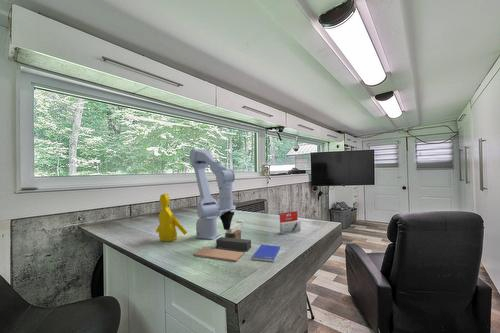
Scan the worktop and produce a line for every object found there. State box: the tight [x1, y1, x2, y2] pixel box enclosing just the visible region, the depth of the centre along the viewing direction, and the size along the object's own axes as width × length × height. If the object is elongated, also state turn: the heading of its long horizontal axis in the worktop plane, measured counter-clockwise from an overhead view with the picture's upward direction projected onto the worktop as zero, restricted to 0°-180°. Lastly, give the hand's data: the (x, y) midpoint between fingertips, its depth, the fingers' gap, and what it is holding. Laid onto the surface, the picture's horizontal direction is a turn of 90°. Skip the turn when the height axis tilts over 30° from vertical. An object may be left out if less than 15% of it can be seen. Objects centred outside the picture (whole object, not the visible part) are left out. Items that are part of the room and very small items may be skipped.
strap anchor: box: [224, 229, 242, 239], centre depth 97 cm, size 5×6×4 cm
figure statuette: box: [155, 193, 188, 242], centre depth 101 cm, size 18×8×22 cm, turn 73°
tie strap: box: [225, 219, 245, 234], centre depth 99 cm, size 3×13×3 cm, turn 158°
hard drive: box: [251, 244, 282, 263], centre depth 80 cm, size 2×8×12 cm
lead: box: [215, 236, 252, 252], centre depth 88 cm, size 14×4×4 cm, turn 68°
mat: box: [192, 247, 245, 263], centre depth 81 cm, size 18×7×1 cm, turn 68°
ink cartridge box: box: [279, 210, 301, 235], centre depth 107 cm, size 2×11×10 cm, turn 115°
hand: (226, 229), depth 92 cm, fingers closed
